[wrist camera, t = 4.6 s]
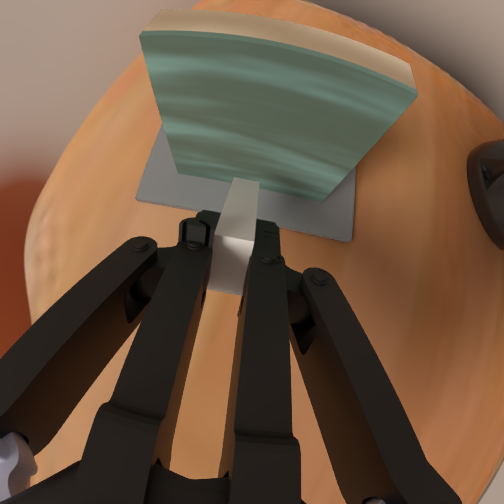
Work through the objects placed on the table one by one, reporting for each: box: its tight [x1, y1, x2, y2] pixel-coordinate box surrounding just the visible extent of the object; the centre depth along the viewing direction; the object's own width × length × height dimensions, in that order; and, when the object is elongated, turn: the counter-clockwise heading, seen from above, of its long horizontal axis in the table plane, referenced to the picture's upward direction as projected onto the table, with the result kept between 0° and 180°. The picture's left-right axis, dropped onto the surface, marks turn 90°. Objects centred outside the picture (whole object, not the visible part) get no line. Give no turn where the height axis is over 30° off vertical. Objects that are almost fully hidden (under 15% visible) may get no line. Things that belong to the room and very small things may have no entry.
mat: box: [135, 123, 356, 243], centre depth 24 cm, size 22×18×1 cm
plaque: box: [139, 10, 418, 202], centre depth 16 cm, size 2×12×14 cm, turn 79°
